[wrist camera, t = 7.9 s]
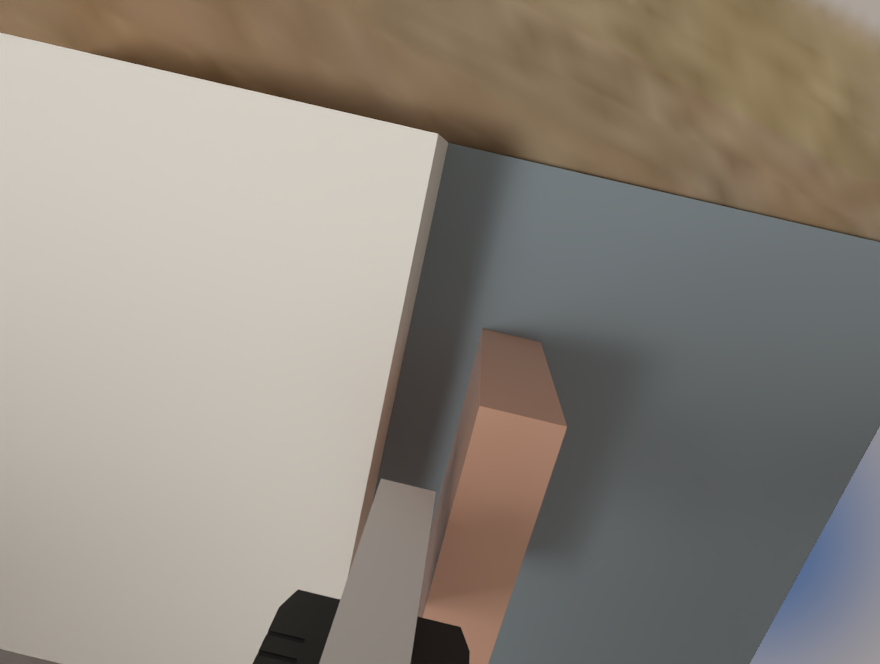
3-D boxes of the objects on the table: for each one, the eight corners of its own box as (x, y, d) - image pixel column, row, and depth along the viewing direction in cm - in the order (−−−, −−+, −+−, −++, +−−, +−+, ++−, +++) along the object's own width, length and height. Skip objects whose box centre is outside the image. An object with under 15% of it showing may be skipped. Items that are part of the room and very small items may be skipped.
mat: (712, 718, 22) (715, 725, 21) (346, 629, 22) (344, 636, 22) (960, 261, 16) (969, 262, 15) (449, 142, 16) (448, 142, 15)
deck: (346, 629, 22) (317, 726, 18) (75, 564, 22) (-11, 646, 18) (449, 142, 16) (438, 133, 12) (72, 56, 16) (-57, 19, 12)
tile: (426, 543, 20) (476, 555, 20) (402, 692, 14) (472, 710, 14) (482, 328, 17) (540, 342, 17) (479, 405, 11) (567, 426, 11)
